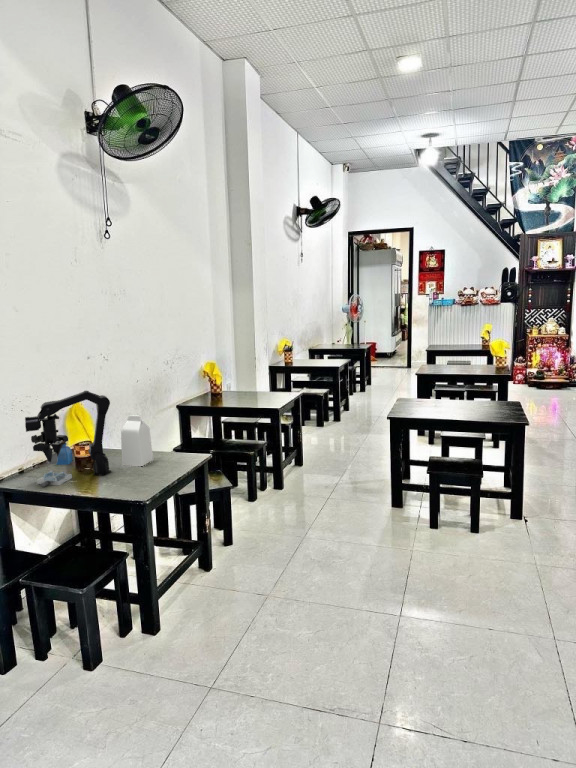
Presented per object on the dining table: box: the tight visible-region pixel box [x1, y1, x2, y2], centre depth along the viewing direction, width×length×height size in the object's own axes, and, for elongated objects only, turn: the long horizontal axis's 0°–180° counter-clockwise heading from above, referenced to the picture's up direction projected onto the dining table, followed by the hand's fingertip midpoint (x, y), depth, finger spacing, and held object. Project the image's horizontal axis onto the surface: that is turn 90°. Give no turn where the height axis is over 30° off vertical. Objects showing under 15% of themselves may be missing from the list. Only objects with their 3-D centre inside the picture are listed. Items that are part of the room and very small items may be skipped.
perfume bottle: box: [56, 441, 73, 466], centre depth 285 cm, size 6×6×12 cm
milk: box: [120, 414, 154, 467], centre depth 281 cm, size 12×12×26 cm
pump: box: [47, 452, 58, 465], centre depth 257 cm, size 4×4×5 cm
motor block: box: [36, 470, 73, 489], centre depth 256 cm, size 12×14×4 cm
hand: (52, 460), depth 257 cm, fingers closed on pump, 4 cm apart
